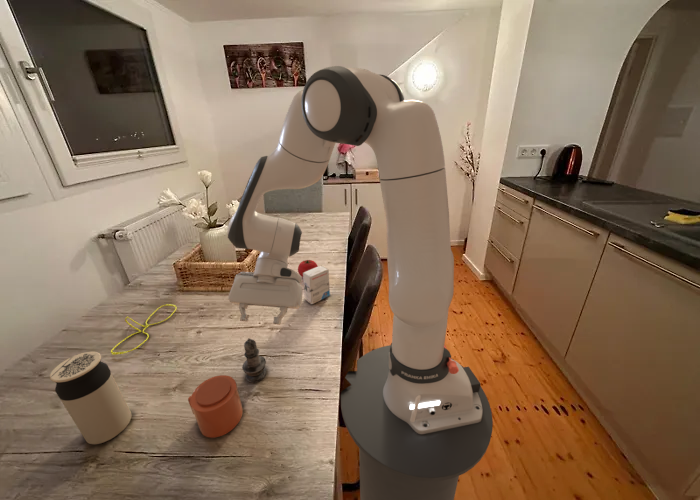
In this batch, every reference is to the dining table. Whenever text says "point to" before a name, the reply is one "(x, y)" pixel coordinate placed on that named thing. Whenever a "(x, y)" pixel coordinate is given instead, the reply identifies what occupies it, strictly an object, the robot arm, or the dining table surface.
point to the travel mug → (91, 397)
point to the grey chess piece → (253, 362)
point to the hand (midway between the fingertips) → (260, 322)
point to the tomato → (306, 266)
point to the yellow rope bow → (140, 330)
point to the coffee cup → (216, 406)
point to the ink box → (316, 284)
